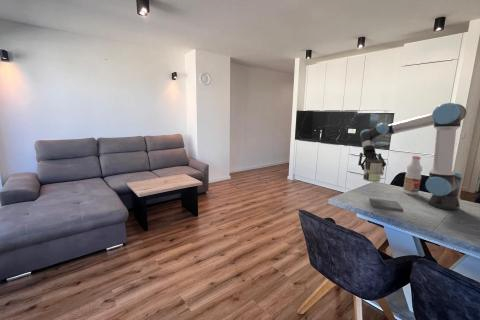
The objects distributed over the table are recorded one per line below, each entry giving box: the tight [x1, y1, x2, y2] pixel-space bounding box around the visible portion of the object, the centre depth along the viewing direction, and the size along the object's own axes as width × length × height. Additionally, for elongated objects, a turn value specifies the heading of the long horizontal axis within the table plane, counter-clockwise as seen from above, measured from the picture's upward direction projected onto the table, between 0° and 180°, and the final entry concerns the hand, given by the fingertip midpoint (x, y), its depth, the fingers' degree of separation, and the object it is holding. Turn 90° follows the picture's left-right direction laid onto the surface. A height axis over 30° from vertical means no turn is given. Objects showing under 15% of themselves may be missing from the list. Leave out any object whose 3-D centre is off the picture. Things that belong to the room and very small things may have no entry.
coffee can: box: [362, 159, 383, 183], centre depth 160 cm, size 10×10×14 cm
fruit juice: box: [402, 155, 423, 196], centre depth 173 cm, size 9×9×28 cm
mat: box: [369, 197, 404, 212], centre depth 150 cm, size 16×14×2 cm
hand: (374, 174), depth 158 cm, fingers closed on coffee can, 10 cm apart
